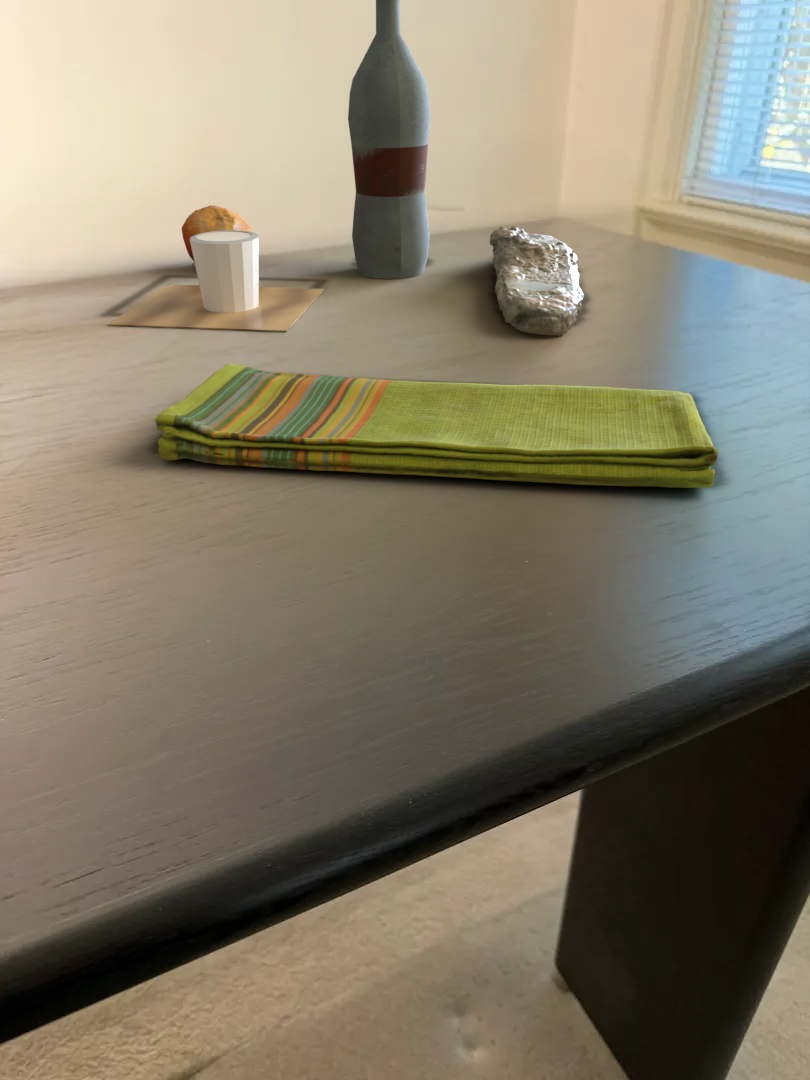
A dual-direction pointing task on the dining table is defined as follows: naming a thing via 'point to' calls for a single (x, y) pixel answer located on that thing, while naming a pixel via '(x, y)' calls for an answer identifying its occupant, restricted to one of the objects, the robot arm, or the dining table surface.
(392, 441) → the dish towel
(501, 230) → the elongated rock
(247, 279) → the white cup
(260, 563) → the dining table surface
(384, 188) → the bottle
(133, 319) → the cork mat
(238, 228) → the fruit
